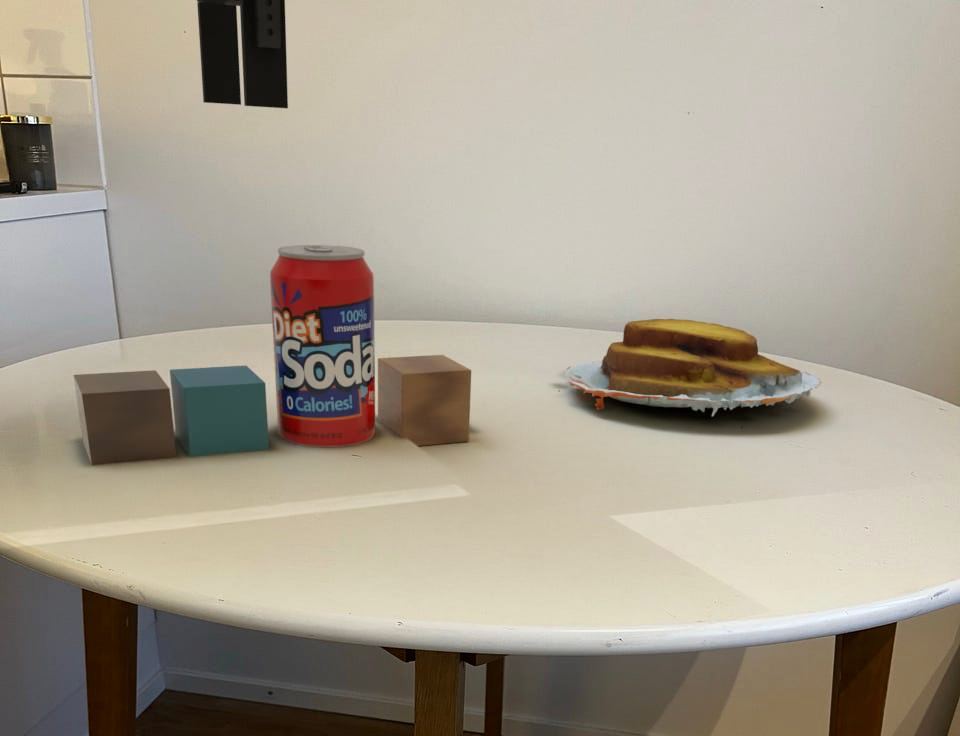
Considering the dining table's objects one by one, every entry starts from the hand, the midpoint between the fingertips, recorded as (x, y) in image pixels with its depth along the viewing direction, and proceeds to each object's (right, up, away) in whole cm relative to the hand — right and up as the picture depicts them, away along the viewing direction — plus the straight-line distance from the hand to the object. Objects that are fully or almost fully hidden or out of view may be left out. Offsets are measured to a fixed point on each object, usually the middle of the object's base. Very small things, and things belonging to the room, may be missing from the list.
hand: (242, 106), depth 72 cm
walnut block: (-10, -24, +5) cm, 27 cm away
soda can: (+4, -22, +11) cm, 25 cm away
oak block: (+12, -21, +14) cm, 28 cm away
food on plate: (+38, -14, +29) cm, 50 cm away
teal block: (-3, -23, +8) cm, 25 cm away
